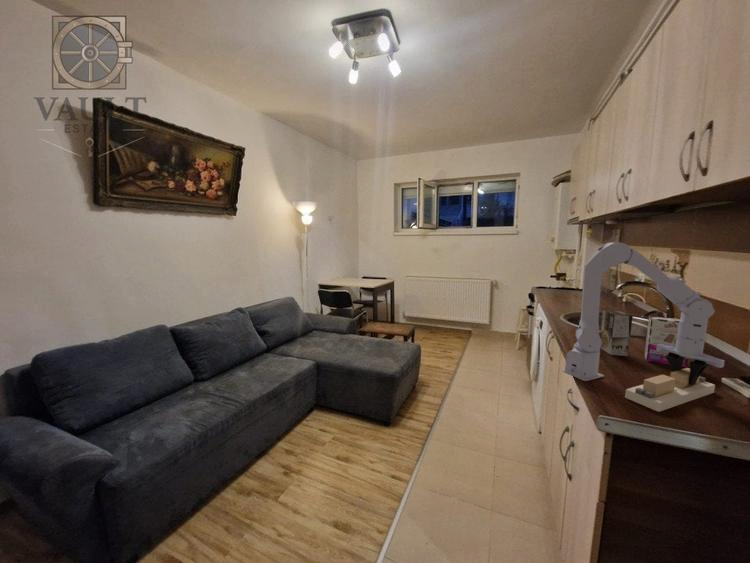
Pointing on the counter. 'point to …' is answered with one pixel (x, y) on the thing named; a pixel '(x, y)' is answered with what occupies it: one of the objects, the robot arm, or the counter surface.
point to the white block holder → (666, 392)
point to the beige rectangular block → (682, 378)
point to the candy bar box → (661, 338)
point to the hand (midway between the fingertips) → (684, 381)
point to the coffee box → (616, 332)
